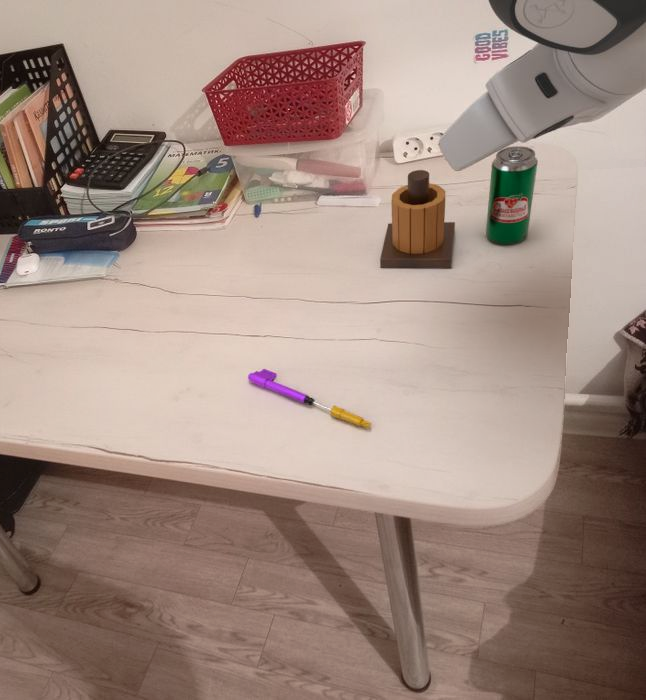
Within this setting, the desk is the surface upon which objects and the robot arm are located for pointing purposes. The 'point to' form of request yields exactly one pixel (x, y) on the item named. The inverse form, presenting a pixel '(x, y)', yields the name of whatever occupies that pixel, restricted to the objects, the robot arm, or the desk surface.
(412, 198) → the stand
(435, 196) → the wooden hollow cylinder
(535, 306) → the desk surface
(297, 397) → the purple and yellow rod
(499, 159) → the soda can
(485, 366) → the desk surface
